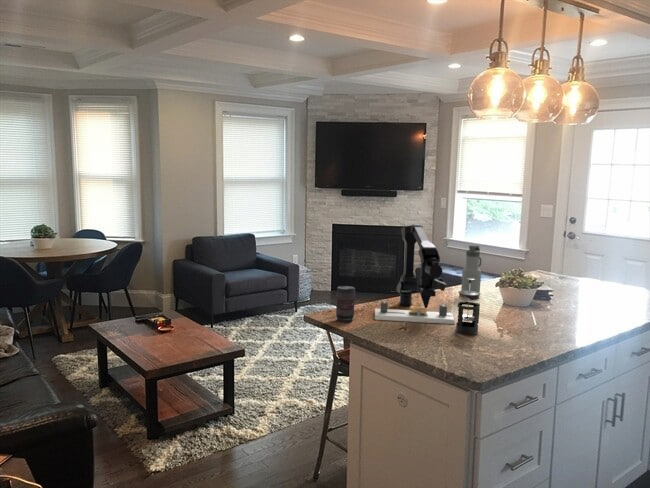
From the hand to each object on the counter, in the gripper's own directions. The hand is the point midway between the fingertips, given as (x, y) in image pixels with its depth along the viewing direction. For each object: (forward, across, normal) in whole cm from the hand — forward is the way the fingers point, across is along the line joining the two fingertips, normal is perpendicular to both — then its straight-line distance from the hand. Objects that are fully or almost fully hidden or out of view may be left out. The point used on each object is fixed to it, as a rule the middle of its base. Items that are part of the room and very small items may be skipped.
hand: (426, 307), depth 247 cm
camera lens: (+5, -11, +36) cm, 38 cm away
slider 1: (+2, 0, +19) cm, 19 cm away
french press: (+6, -17, -16) cm, 24 cm away
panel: (+5, 0, +6) cm, 8 cm away
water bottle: (+6, +52, -28) cm, 59 cm away
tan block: (+1, 0, +3) cm, 4 cm away
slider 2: (+3, 0, -8) cm, 8 cm away
